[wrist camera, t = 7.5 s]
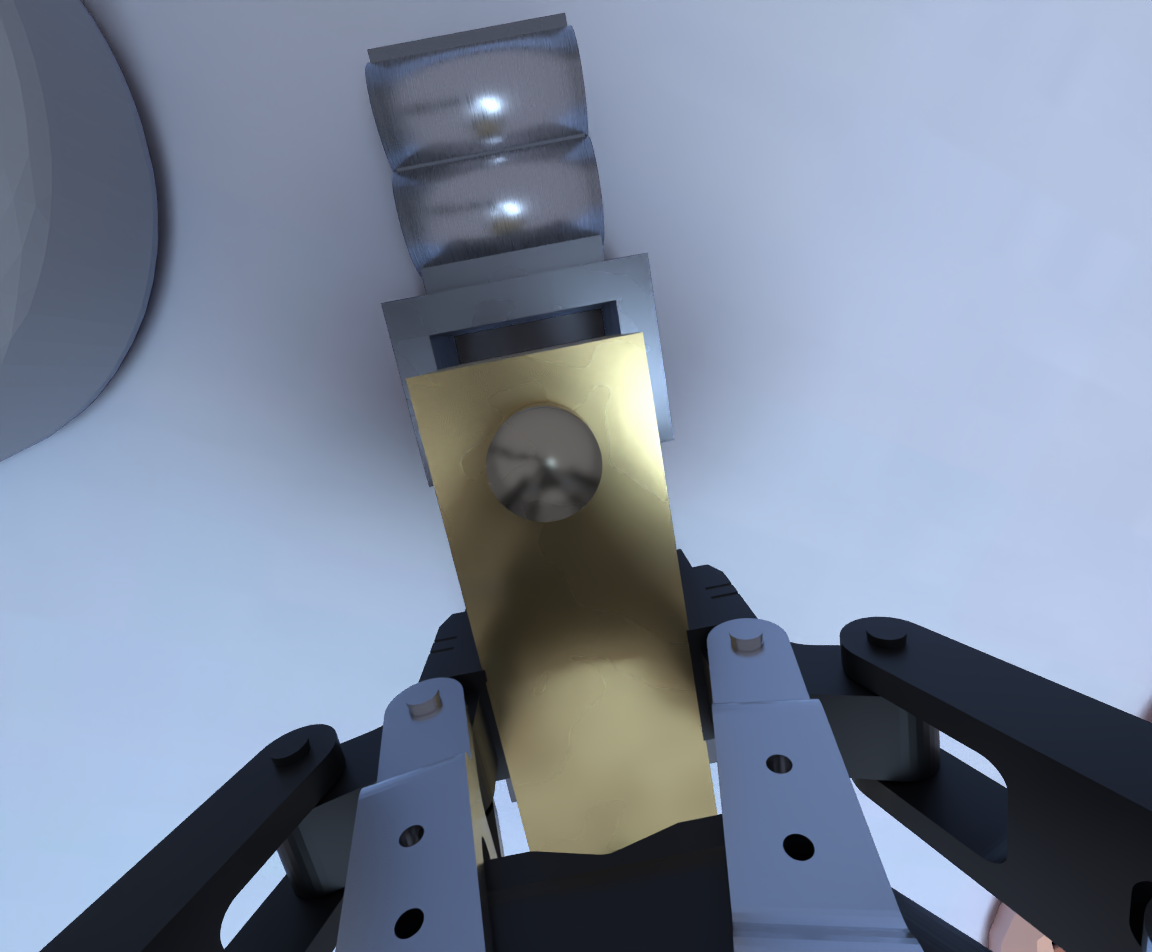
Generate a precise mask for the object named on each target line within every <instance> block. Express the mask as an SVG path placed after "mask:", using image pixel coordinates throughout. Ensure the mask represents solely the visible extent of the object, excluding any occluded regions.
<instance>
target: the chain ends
mask: <svg viewBox="0 0 1152 952" xmlns="http://www.w3.org/2000/svg"><path fill="white" fill-rule="evenodd" d="M368 54H369V58H370V62H371V63H367V64H366V68H365V73H366V83H367V89H368V94H369V99H370V103H371V107H372V111H373V115H374V118H375V122H376V126H377V129H378V132H379V135H380V138H381V141H382V144H383V147H384V150H385V153H386V155H387V158H388V160H389V163H390V165H391V168H392V170H393V175H392V184H393V192H394V199H395V204H396V209H397V213H398V217H399V221H400V225H401V229H402V232H403V235H404V239H405V242H406V245H407V248H408V250H409V253H410V256H411V258H412V261H413V263H414V265H415V267H416V269H417V271H418V273H419V275H420V276H421V277H422V278H423V283H424V287H425V291H426V295H422V296H417V297H412V298H406V299H401V300H396V301H391V302H385V303H381V305H382V308H383V312H384V316H385V320H386V324H387V327H388V331H389V335H390V339H391V343H392V347H393V350H394V354H395V358H396V362H397V366H398V370H399V373H400V377H401V381H402V385H403V389H404V392H405V396H406V400H407V404H408V408H409V412H410V415H411V419H412V423H413V427H414V431H415V434H416V438H417V442H418V446H419V450H420V454H421V457H422V461H423V465H424V469H425V473H426V477H427V480H428V484H429V487H431V486H434V485H433V481H432V477H431V473H430V469H429V466H428V462H427V458H426V454H425V450H424V447H423V443H422V439H421V435H420V431H419V427H418V424H417V420H416V416H415V412H414V408H413V405H412V401H411V397H410V393H409V389H408V386H407V382H406V378H410V377H414V376H417V375H421V374H425V373H429V372H433V371H436V370H440V369H444V368H448V367H452V366H456V365H459V364H460V361H459V357H458V352H457V348H456V344H455V340H454V336H457V335H462V334H467V333H472V332H478V331H483V330H488V329H493V328H499V327H504V326H509V325H514V324H520V323H525V322H530V321H535V320H541V319H546V318H551V317H556V316H562V315H567V314H572V313H577V312H583V311H588V310H593V309H598V308H601V310H602V317H603V323H604V329H605V335H606V336H607V335H618V334H628V333H639V332H643V336H644V343H645V349H646V356H647V362H648V369H649V375H650V382H651V388H652V395H653V401H654V408H655V414H656V421H657V427H658V434H659V440H660V442H665V441H671V440H674V436H673V429H672V422H671V415H670V408H669V401H668V394H667V386H666V379H665V372H664V365H663V358H662V351H661V344H660V337H659V330H658V323H657V316H656V309H655V302H654V295H653V288H652V281H651V274H650V267H649V259H648V253H643V254H638V255H633V256H628V257H622V258H617V259H612V260H607V261H605V259H604V252H603V244H604V216H603V205H602V196H601V188H600V181H599V175H598V169H597V164H596V159H595V154H594V150H593V146H592V143H591V140H590V137H589V136H588V120H587V107H586V97H585V89H584V81H583V74H582V67H581V61H580V55H579V50H578V45H577V41H576V37H575V33H574V30H573V28H572V26H571V25H569V26H567V22H566V16H565V13H561V14H556V15H550V16H545V17H540V18H534V19H529V20H524V21H518V22H513V23H508V24H502V25H497V26H491V27H486V28H481V29H475V30H470V31H465V32H459V33H454V34H449V35H443V36H438V37H433V38H427V39H422V40H416V41H411V42H406V43H400V44H395V45H390V46H384V47H379V48H374V49H368ZM706 744H707V751H708V757H709V764H710V763H715V762H717V755H716V745H715V739H710V740H706ZM506 782H507V786H508V790H509V794H510V798H511V801H512V802H516V801H517V800H516V796H515V792H514V789H513V785H512V781H511V778H508V779H506Z"/></svg>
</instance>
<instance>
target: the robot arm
mask: <svg viewBox="0 0 1152 952" xmlns="http://www.w3.org/2000/svg"><path fill="white" fill-rule="evenodd" d="M677 557H678V563H679V570H680V576H681V582H682V589H683V595H684V602H685V608H686V615H687V621H688V628H689V630H686V631H687V637H688V644H689V650H690V657H691V663H692V669H693V676H694V682H695V689H696V695H697V702H698V708H699V714H700V721H701V727H702V734H703V740H704V741H705V740H710V739H715V745H716V755H717V765H718V775H719V786H720V796H721V806H722V814H720V815H714V816H709V817H704V818H699V819H694V820H689V821H684V822H679V823H676V824H674V825H672V826H670V827H667V828H665V829H663V830H661V831H659V832H657V833H654V834H652V835H650V836H648V837H646V838H643V839H641V840H639V841H637V842H635V843H633V844H630V845H628V846H626V847H624V848H622V849H619V850H617V851H615V852H612V853H609V854H601V855H599V854H579V853H560V852H541V851H531V852H525V853H520V854H515V855H510V856H505V857H504V851H503V845H502V839H501V832H500V826H499V820H498V814H497V810H496V806H495V803H494V799H493V796H494V791H495V782H496V781H498V780H503V779H508V778H511V777H510V773H509V770H508V766H507V762H506V758H505V754H504V751H503V747H502V743H501V739H500V735H499V732H498V728H497V724H496V720H495V716H494V713H493V709H492V705H491V701H490V697H489V694H488V690H487V686H486V682H488V681H487V677H486V673H485V670H482V667H481V663H480V659H479V656H478V652H477V648H476V644H475V640H474V637H473V633H472V629H471V625H470V621H469V618H468V614H467V610H466V609H465V612H461V613H456V614H452V615H451V616H450V617H449V618H448V619H447V620H446V621H445V622H444V623H443V624H442V625H441V626H440V627H439V630H438V632H437V635H436V638H435V640H434V641H435V643H433V645H432V648H431V651H430V654H429V656H428V659H427V661H426V664H425V667H424V669H423V672H422V675H421V677H420V680H419V683H417V684H415V685H412V686H411V687H409V688H407V689H405V690H404V691H402V692H401V693H400V694H398V695H397V696H396V697H395V698H394V699H393V700H392V701H391V702H390V704H389V705H388V707H387V709H386V711H385V715H384V723H383V726H381V727H379V728H377V729H375V730H373V731H371V732H368V733H366V734H363V735H361V736H358V737H356V738H353V739H351V740H349V741H346V742H344V743H341V744H340V742H339V739H338V737H337V734H336V731H335V729H333V728H332V727H331V726H328V725H324V724H316V725H309V726H305V727H302V728H299V729H296V730H293V731H291V732H289V733H287V734H285V735H283V736H281V737H279V738H278V739H276V740H275V741H273V742H272V743H270V744H269V745H268V746H266V747H265V748H264V749H263V750H262V751H260V752H259V753H258V754H257V755H256V756H255V757H254V758H253V759H252V760H250V761H249V762H248V763H247V764H246V765H245V766H244V767H243V768H242V769H241V770H239V771H238V772H237V773H236V774H235V775H234V776H233V777H232V778H231V779H229V780H228V781H227V782H226V783H225V784H224V785H223V786H222V787H221V788H220V789H218V790H217V791H216V792H215V793H214V794H213V795H212V796H211V797H210V798H209V799H207V800H206V801H205V802H204V803H203V804H202V805H201V806H200V807H199V808H197V809H196V810H195V811H194V812H193V813H192V814H191V815H190V816H189V817H188V818H186V819H185V820H184V821H183V822H182V823H181V824H180V825H179V826H178V827H176V828H175V829H174V830H173V831H172V832H171V833H170V834H169V835H168V836H167V837H165V838H164V839H163V840H162V841H161V842H160V843H159V844H158V845H157V846H156V847H154V848H153V849H152V850H151V851H150V852H149V853H148V854H147V855H146V856H144V857H143V858H142V859H141V860H140V861H139V862H138V863H137V864H136V865H135V866H133V867H132V868H131V869H130V870H129V871H128V872H127V873H126V874H125V875H123V876H122V877H121V878H120V879H119V880H118V881H117V882H116V883H115V884H114V885H112V886H111V887H110V888H109V889H108V890H107V891H106V892H105V893H104V894H103V895H101V896H100V897H99V898H98V899H97V900H96V901H95V902H94V903H93V904H91V905H90V906H89V907H88V908H87V909H86V910H85V911H84V912H83V913H82V914H80V915H79V916H78V917H77V918H76V919H75V920H74V921H73V922H72V923H70V924H69V925H68V926H67V927H66V928H65V929H64V930H63V931H62V932H61V933H59V934H58V935H57V936H56V937H55V938H54V939H53V940H52V941H51V942H50V943H48V944H47V945H46V946H45V947H44V948H43V949H42V950H41V951H40V952H333V950H334V949H335V947H336V950H335V952H993V951H991V950H990V949H988V948H987V947H985V946H983V945H982V944H980V943H979V942H977V941H975V940H974V939H972V938H971V937H969V936H968V935H966V934H964V933H963V932H961V931H960V930H958V929H956V928H955V927H953V926H952V925H950V924H949V923H947V922H945V921H944V920H942V919H941V918H939V917H937V916H936V915H934V914H933V913H931V912H930V911H928V910H926V909H925V908H923V907H922V906H920V905H918V904H917V903H915V902H914V901H912V900H911V899H909V898H907V897H906V896H904V895H903V894H901V893H900V892H898V891H896V890H895V889H893V888H892V887H891V886H890V883H889V881H888V878H887V875H886V873H885V870H884V867H883V865H882V862H881V859H880V857H879V854H878V852H877V849H876V846H875V844H874V841H873V838H872V836H871V833H870V830H869V828H868V825H867V822H866V820H865V817H864V815H863V812H862V809H861V807H860V804H859V801H858V799H857V796H856V793H855V791H854V788H853V785H852V783H851V780H850V778H852V780H853V782H854V783H855V785H856V786H857V787H858V789H859V790H860V791H861V792H862V793H863V794H865V795H866V796H867V797H868V798H870V799H871V800H872V801H873V802H875V803H876V804H877V805H879V806H880V807H881V808H882V809H884V810H885V811H886V812H888V813H889V814H890V815H891V816H893V817H894V818H895V819H896V820H898V821H899V822H900V823H902V824H903V825H904V826H905V827H907V828H908V829H909V830H911V831H912V832H913V833H914V834H916V835H917V836H918V837H920V838H921V839H922V840H923V841H925V842H926V843H927V844H928V845H930V846H931V847H932V848H934V849H935V850H936V851H937V852H939V853H940V854H941V855H943V856H944V857H945V858H946V859H948V860H949V861H950V862H952V863H953V864H954V865H955V866H957V867H958V868H959V869H960V870H962V871H963V872H964V873H966V874H967V875H968V876H969V877H971V878H972V879H973V880H975V881H976V882H977V883H978V884H980V885H981V886H982V887H983V888H985V889H986V890H987V891H989V892H990V893H991V894H992V895H994V896H995V897H996V898H998V899H999V900H1000V901H1001V902H1003V903H1004V904H1005V905H1007V906H1008V907H1009V908H1010V909H1012V910H1013V911H1014V912H1015V913H1017V914H1018V915H1019V916H1021V917H1022V918H1023V919H1024V920H1026V921H1027V922H1028V923H1030V924H1031V925H1032V926H1033V927H1035V928H1036V929H1037V930H1039V931H1040V932H1041V933H1042V934H1044V935H1045V936H1046V937H1047V938H1049V939H1050V940H1051V941H1053V942H1054V943H1055V944H1056V945H1058V946H1059V947H1060V948H1062V949H1063V950H1064V951H1065V952H1152V723H1150V722H1148V721H1146V720H1143V719H1141V718H1138V717H1136V716H1134V715H1131V714H1129V713H1127V712H1124V711H1122V710H1119V709H1117V708H1115V707H1112V706H1110V705H1107V704H1105V703H1103V702H1100V701H1098V700H1096V699H1093V698H1091V697H1088V696H1086V695H1084V694H1081V693H1079V692H1076V691H1074V690H1072V689H1069V688H1067V687H1065V686H1062V685H1060V684H1057V683H1055V682H1053V681H1050V680H1048V679H1046V678H1043V677H1041V676H1038V675H1036V674H1034V673H1031V672H1029V671H1026V670H1024V669H1022V668H1019V667H1017V666H1015V665H1012V664H1010V663H1007V662H1005V661H1003V660H1000V659H998V658H995V657H993V656H991V655H988V654H986V653H984V652H981V651H979V650H976V649H974V648H972V647H969V646H967V645H965V644H962V643H960V642H957V641H955V640H953V639H950V638H948V637H945V636H943V635H941V634H938V633H936V632H934V631H931V630H929V629H926V628H924V627H922V626H919V625H917V624H914V623H912V622H909V621H905V620H902V619H897V618H890V617H868V618H862V619H858V620H855V621H852V622H850V623H848V624H847V625H845V626H844V627H843V628H842V630H841V632H840V645H803V644H796V643H792V642H790V641H789V638H788V636H787V634H786V632H785V631H784V630H783V629H782V628H781V627H780V626H778V625H776V624H774V623H772V622H769V621H766V620H762V619H758V618H757V617H756V616H755V614H754V613H753V612H752V610H751V609H750V608H749V606H748V605H747V604H746V602H745V601H744V600H743V598H742V597H741V596H740V594H738V592H737V590H736V589H735V587H734V586H733V585H731V582H730V581H729V579H728V578H727V577H726V575H725V574H724V573H723V572H722V571H720V570H718V569H716V568H714V567H712V566H710V565H702V566H697V567H692V566H691V565H690V563H689V561H688V560H687V558H686V557H685V555H684V553H683V552H682V550H681V549H678V550H677ZM939 730H940V731H941V732H943V733H945V734H947V735H948V736H950V737H952V738H953V739H955V740H957V741H959V742H960V743H962V744H964V745H966V746H967V747H969V748H971V749H972V750H974V751H976V752H978V753H979V754H981V755H982V756H984V757H985V758H986V759H987V760H989V761H990V762H991V763H992V764H993V765H994V766H995V768H996V769H997V770H998V771H999V773H1000V774H1001V776H1002V777H1003V779H1004V781H1005V783H1006V786H1007V788H1005V787H1004V786H1002V785H1000V784H999V783H997V782H995V781H994V780H992V779H990V778H989V777H987V776H986V775H984V774H982V773H981V772H979V771H977V770H976V769H974V768H972V767H971V766H969V765H967V764H966V763H964V762H962V761H961V760H959V759H958V758H956V757H954V756H953V755H951V754H949V753H948V752H946V751H944V750H943V749H941V748H940V740H939ZM276 850H277V852H278V854H279V857H280V859H281V861H282V864H283V866H284V869H285V871H286V875H285V877H284V878H283V879H282V880H281V881H280V883H279V884H278V885H277V886H276V888H275V889H274V890H273V891H272V892H271V894H270V895H269V896H268V897H267V898H266V900H265V901H264V902H263V903H262V904H261V906H260V907H259V908H258V909H257V911H256V912H255V913H254V914H253V915H252V917H251V918H250V919H249V920H248V921H247V923H246V924H245V925H244V926H243V928H242V929H241V930H240V931H239V932H238V934H237V935H236V936H235V937H234V938H233V940H232V941H231V942H230V943H229V944H228V946H227V947H226V948H225V949H224V948H223V946H222V944H221V940H220V930H221V924H222V921H223V918H224V916H225V913H226V911H227V909H228V907H229V905H230V904H231V902H232V901H233V899H234V898H235V897H236V896H237V894H238V893H239V892H240V891H241V890H242V889H243V888H244V886H245V885H246V884H247V883H248V882H249V881H250V880H251V879H252V877H253V876H254V875H255V874H256V873H257V872H258V871H259V869H260V868H261V867H262V866H263V865H264V864H265V863H266V861H267V860H268V859H269V858H270V857H271V856H272V855H273V853H274V852H275V851H276Z"/></svg>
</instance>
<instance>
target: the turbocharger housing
mask: <svg viewBox="0 0 1152 952" xmlns="http://www.w3.org/2000/svg"><path fill="white" fill-rule="evenodd" d="M157 250H158V206H157V194H156V186H155V179H154V171H153V167H152V163H151V159H150V155H149V151H148V147H147V143H146V139H145V135H144V131H143V127H142V124H141V121H140V118H139V115H138V112H137V109H136V106H135V103H134V100H133V97H132V95H131V93H130V90H129V88H128V85H127V83H126V80H125V78H124V76H123V73H122V71H121V69H120V67H119V65H118V63H117V61H116V59H115V57H114V55H113V53H112V51H111V49H110V47H109V45H108V43H107V42H106V40H105V38H104V37H103V35H102V33H101V31H100V30H99V28H98V26H97V25H96V23H95V21H94V20H93V18H92V17H91V15H90V14H89V12H88V11H87V9H86V8H85V6H84V5H83V4H82V2H81V1H80V0H0V461H2V460H4V459H6V458H8V457H10V456H12V455H14V454H16V453H18V452H20V451H22V450H24V449H26V448H28V447H30V446H32V445H34V444H36V443H38V442H40V441H42V440H44V439H46V438H48V437H49V436H51V435H52V434H53V433H55V432H56V431H57V430H59V429H60V428H61V427H63V426H64V425H65V424H67V423H68V422H69V421H71V420H72V419H73V418H74V417H76V416H77V415H78V414H80V413H81V412H82V411H84V410H85V409H86V408H87V407H88V406H89V405H90V404H91V403H92V402H93V401H94V400H95V399H96V398H97V396H98V395H99V394H100V393H101V391H102V390H103V389H104V387H105V386H106V385H107V383H108V382H109V381H110V380H111V378H112V377H113V376H114V374H115V373H116V371H117V370H118V368H119V366H120V364H121V363H122V361H123V359H124V357H125V356H126V354H127V352H128V350H129V349H130V347H131V345H132V343H133V341H134V339H135V336H136V334H137V331H138V329H139V327H140V324H141V322H142V319H143V317H144V315H145V312H146V308H147V304H148V300H149V296H150V292H151V288H152V284H153V280H154V273H155V265H156V257H157Z"/></svg>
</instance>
